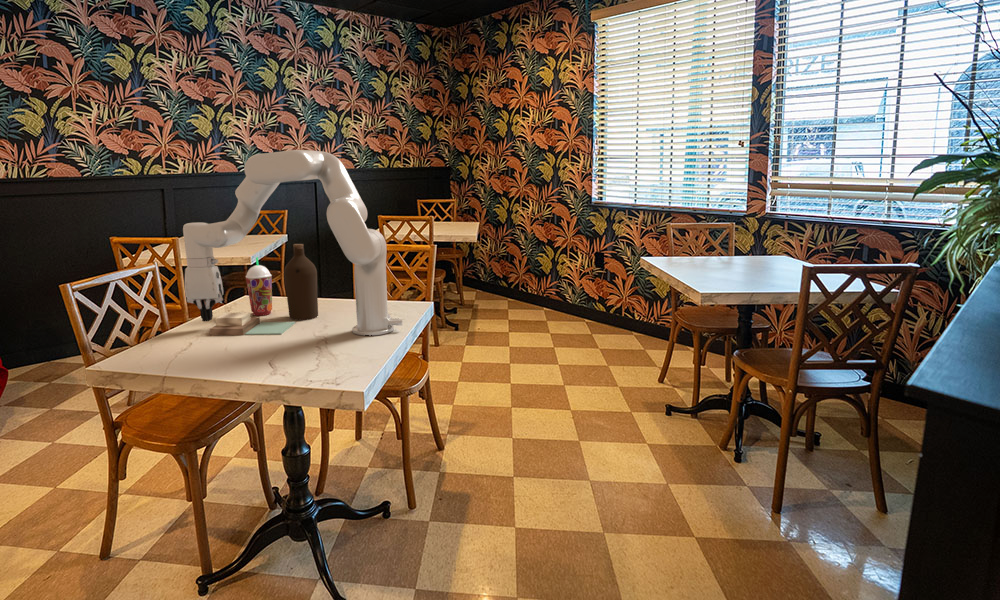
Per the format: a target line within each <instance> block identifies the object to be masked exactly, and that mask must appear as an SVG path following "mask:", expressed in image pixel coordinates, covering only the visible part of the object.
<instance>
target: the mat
mask: <svg viewBox="0 0 1000 600" xmlns="http://www.w3.org/2000/svg"><path fill="white" fill-rule="evenodd" d="M295 324H296V321H260V324H258V325H257V326H255V327H254V328H252V329H251V330H249V331H248V332H247V333H245V334H244V335H245V336H252V335H253V336H258V335H259V336H260V335H262V336H264V335H269V336H271V335H273V336H274V335H282V334H285V332H286V331H287V330H289V329H290V328H291V327H293V326H294V325H295Z"/></svg>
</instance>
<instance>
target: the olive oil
mask: <svg viewBox="0 0 1000 600" xmlns="http://www.w3.org/2000/svg"><path fill="white" fill-rule="evenodd" d="M292 246H293V256H292V257H291V259H290V260H289V261H288V263H286V265H285V266H284V271H283V277H284V284H285V292H286V293H285V294H286V299H287V308H288V316H289V319H290V320H293V321H306V320H307V319H308V320H312V318H313V319H316V318H317V316H319V304H318V303H319V299H318V271H317V268H316V265H315V263H313V262H312V261H311V260H310V259H309V258H308V257H306V255H305V248H304V243H294V244H292ZM315 317H316V318H315ZM308 320H307V321H308Z"/></svg>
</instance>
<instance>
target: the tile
mask: <svg viewBox="0 0 1000 600" xmlns="http://www.w3.org/2000/svg"><path fill="white" fill-rule="evenodd" d="M251 318H252V317H251V312H224V313H222V314H220V315H219V316H217V317H215V326H243V325H244V324H246V323H247V322H249V321H250V320H251Z"/></svg>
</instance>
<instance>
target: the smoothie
mask: <svg viewBox="0 0 1000 600" xmlns="http://www.w3.org/2000/svg"><path fill="white" fill-rule="evenodd" d="M255 262H256V263H255V264H256V265H253V266H251V267H250V268H249V269H248V271H247V273H246V275H245V280H246V286H247V287H246V288H247V291H248V298H249V304H250V310H251V312H252V314H253V316H257V317H263V316H268V315H270V314H271V313H272V311H273V292H272V290H273V287H272V286H273V285H272V284H273V282H272V280H273V279H272V276H273V275H272V274H271V272H270V271H269V269H268V268H267V267H266V266H265V265H262V264H259V257H258V256H256V257H255Z"/></svg>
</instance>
